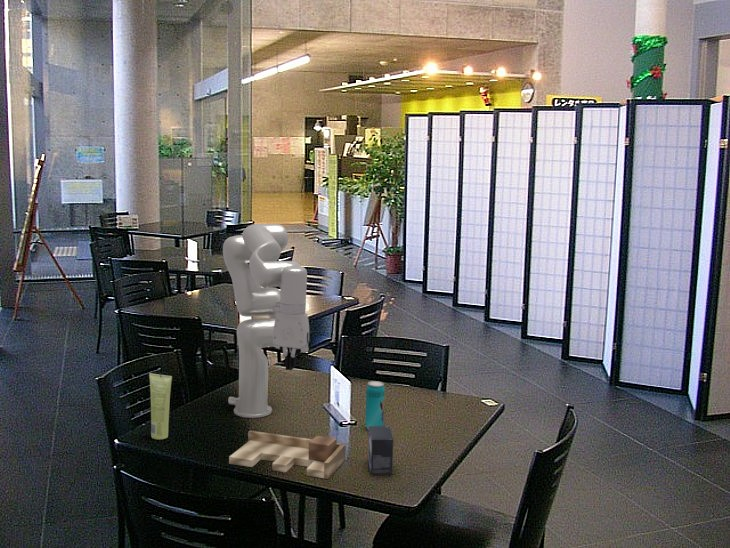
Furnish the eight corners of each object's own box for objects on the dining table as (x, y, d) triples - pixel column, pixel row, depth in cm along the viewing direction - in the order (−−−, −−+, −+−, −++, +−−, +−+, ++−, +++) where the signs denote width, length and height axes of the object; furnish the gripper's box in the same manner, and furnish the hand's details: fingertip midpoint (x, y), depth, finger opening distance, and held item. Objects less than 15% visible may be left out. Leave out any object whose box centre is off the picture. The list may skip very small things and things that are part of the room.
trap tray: (227, 463, 227) (227, 447, 226) (249, 444, 242) (249, 430, 241) (328, 479, 219) (328, 463, 218) (345, 459, 233) (345, 444, 233)
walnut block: (308, 459, 227) (308, 442, 226) (316, 452, 232) (317, 435, 232) (328, 462, 225) (329, 445, 224) (336, 455, 231) (336, 438, 230)
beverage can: (381, 432, 256) (383, 386, 254) (363, 430, 257) (365, 385, 255) (384, 426, 262) (386, 381, 260) (367, 424, 263) (368, 380, 261)
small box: (366, 460, 233) (367, 425, 232) (388, 460, 234) (390, 425, 232) (369, 475, 223) (371, 438, 221) (393, 475, 223) (394, 438, 222)
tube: (168, 433, 249) (168, 371, 246) (171, 438, 244) (172, 375, 241) (149, 435, 246) (149, 373, 243) (152, 441, 242) (152, 377, 239)
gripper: (263, 307, 235) (261, 368, 239) (311, 314, 231) (308, 376, 235) (274, 302, 242) (272, 361, 246) (321, 309, 238) (318, 369, 242)
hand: (290, 368), depth 240 cm, fingers closed
